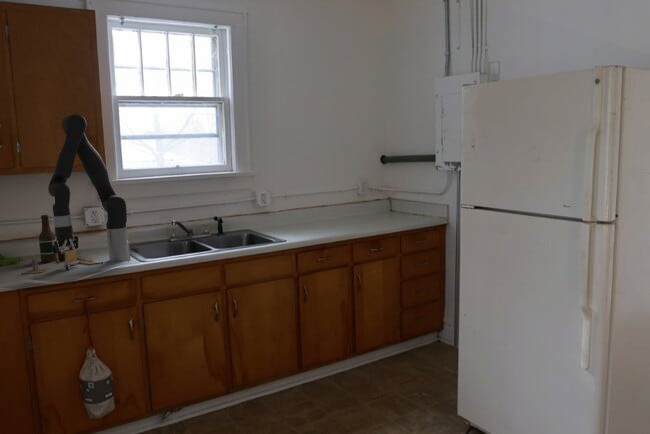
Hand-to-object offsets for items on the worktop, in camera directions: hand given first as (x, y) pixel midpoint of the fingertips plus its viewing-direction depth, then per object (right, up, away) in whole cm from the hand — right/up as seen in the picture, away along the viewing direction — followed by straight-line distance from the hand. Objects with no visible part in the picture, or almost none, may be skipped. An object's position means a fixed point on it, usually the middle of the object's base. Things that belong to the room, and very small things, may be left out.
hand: (67, 260), depth 252 cm
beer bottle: (-20, -3, +23) cm, 31 cm away
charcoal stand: (0, -5, +1) cm, 5 cm away
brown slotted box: (0, 0, 0) cm, 0 cm away
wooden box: (-13, -6, -3) cm, 15 cm away
